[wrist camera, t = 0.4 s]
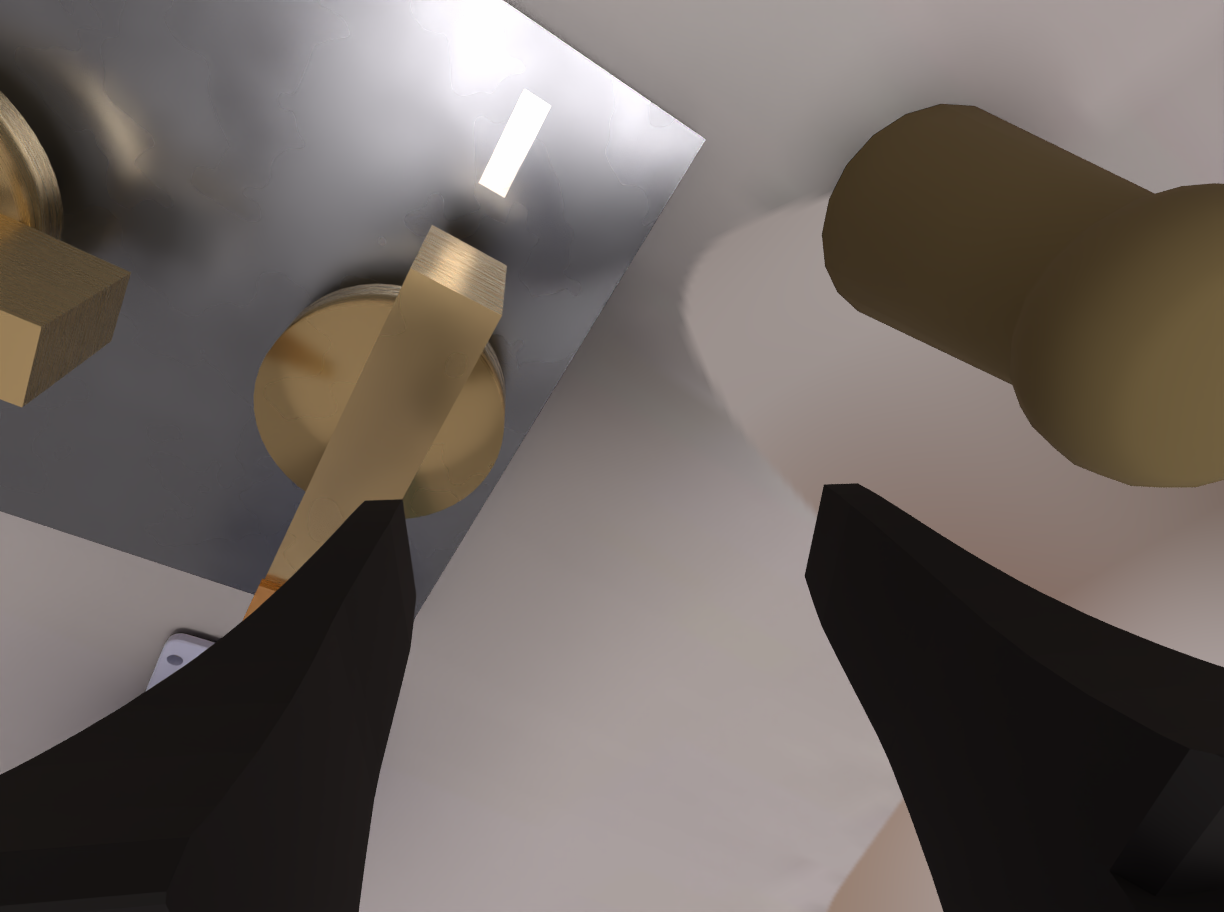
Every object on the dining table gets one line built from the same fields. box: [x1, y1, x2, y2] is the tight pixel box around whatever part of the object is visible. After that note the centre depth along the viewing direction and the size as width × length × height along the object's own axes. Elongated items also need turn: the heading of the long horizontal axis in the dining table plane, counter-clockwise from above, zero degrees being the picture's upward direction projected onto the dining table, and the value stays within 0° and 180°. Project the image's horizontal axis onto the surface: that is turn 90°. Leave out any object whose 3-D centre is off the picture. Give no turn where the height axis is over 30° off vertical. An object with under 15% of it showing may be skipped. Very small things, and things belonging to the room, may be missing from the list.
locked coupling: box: [243, 225, 507, 620], centre depth 17 cm, size 6×10×5 cm, turn 149°
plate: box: [0, 0, 706, 618], centre depth 18 cm, size 19×22×2 cm
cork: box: [822, 104, 1224, 487], centre depth 16 cm, size 6×6×11 cm
